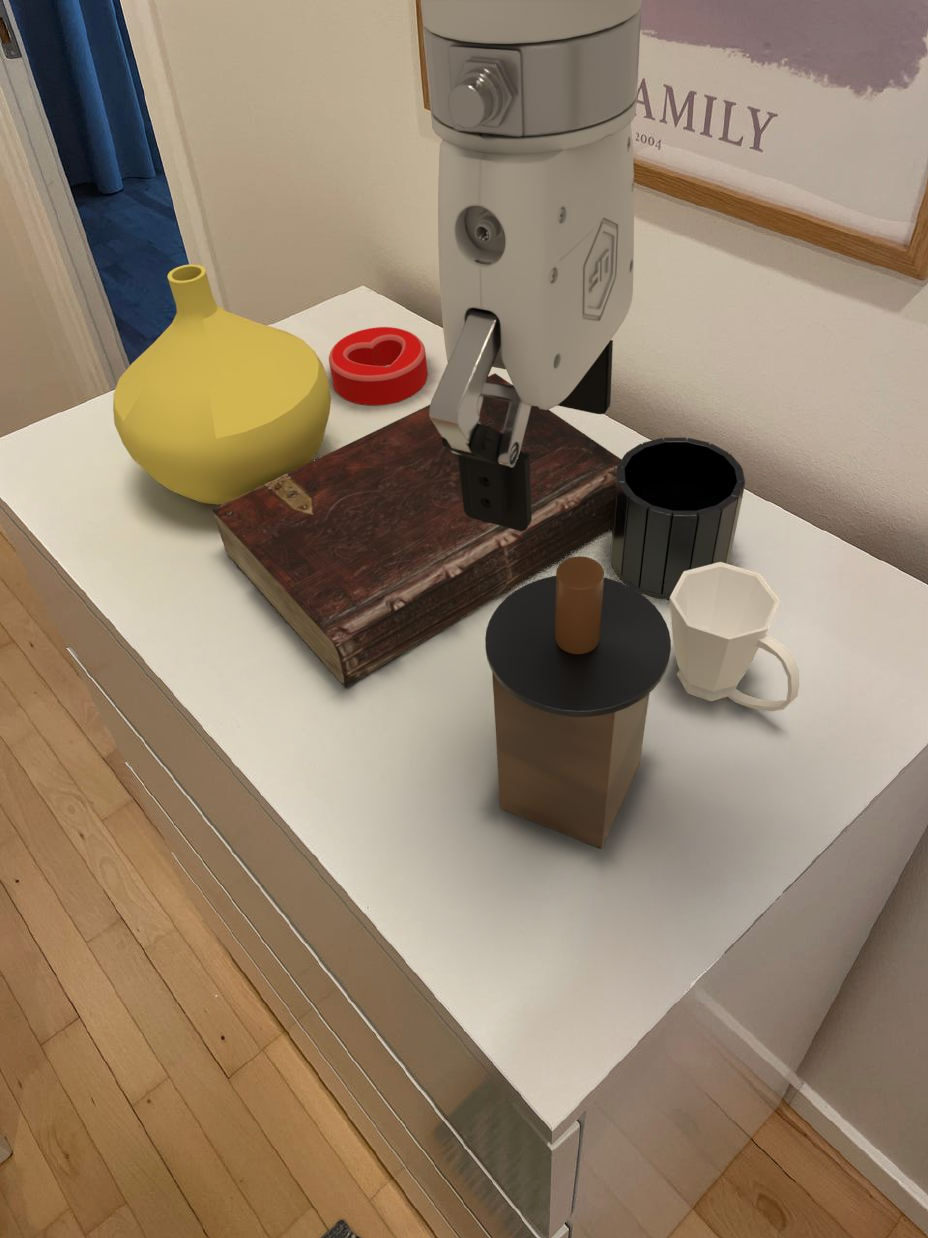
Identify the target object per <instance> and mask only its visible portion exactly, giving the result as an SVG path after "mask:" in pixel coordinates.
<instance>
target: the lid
mask: <svg viewBox="0 0 928 1238" xmlns="http://www.w3.org/2000/svg"><path fill="white" fill-rule="evenodd" d="M484 640H485V642H484V645H485V647H484V649H485V655H486V660H487V663H488V665H489V666H488V667H489V668H490V670H491V673H492V672H493V674H494V676H495V677H496V679H497V680H498V681H499V683H500V684H501V685H502V686H503V687H504V688H505V689H506V690H507V691H508V692H509V693H510V694H511V695H513V696H514V697H515V698H517V699H518V700H520V701H522V702H523V703H525V704H527V705H529V706H531V707H533V708H536V709H538V710H540V711H544V712H547V713H551V714H555V715H560V716H567V717H594V716H601V715H606V714H610V713H614V712H617V711H620V710H623V709H625V708H628V707H629V706H631V705H633V704H635V703H637V702H639V701H640V700H641V699H643V698H644V697H646V696H647V695H648V694H649V695H650V693H652V692H653V691H654V690H655V689H656V687H657V686H658V685H659V684H660V682H661V681H662V679H663V677H664V675H665V674H666V672H667V669H668V666H669V663H670V658H671V652H672V651H671V650H672V639H671V635H670V630H669V627H668V625H667V622H666V620H665V619H664V617H663V614H662V613H661V612H660V610H659V609H658V608H657V607H656V605H655V604H653V603H652V602H651V601H650V599H648V598H647V597H646V596H645V595H644V594H643V593H640V592H638V591H636V590H634V589H633V588H631V587H629V586H628V585H627V584H626V583H622V582H620V581H617V580H614V579H612V578H607V577H605V571H604V568H603V566H602V565H601V564H600V563H599V562H598V561H597V560H595V559H594V558H591V557H587V556H580V555H579V556H578V555H577V556H571V557H568V558H566V559H564V560H563V561H561V562H560V563H559V565H558V566H557V568H556V571H555V575H552V576H547V577H543V578H540V579H538V580H533V581H532V582H529V583H527V584H524V585H523V586H521V587H519V588H518V589H516V590H515V591H513V592H512V593H510V594H509V595H508V596H506V598H504V600H502V601H501V602H500V604H499V605H498V606H497V608H496V609H495V610H494V611H493V613H492V615H491V617H490V619H489V621H488V624H487V627H486V631H485V637H484Z"/></svg>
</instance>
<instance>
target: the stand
mask: <svg viewBox="0 0 928 1238" xmlns="http://www.w3.org/2000/svg"><path fill="white" fill-rule="evenodd" d="M491 677H492V678H491V679H492V695H493V711H494V727H495V746H496V748H495V749H496V762H497V775H498V776H497V780H498V781H497V782H498V796H499V809H502V810H504V811H506V812H508V813H511V814H514V815H517V816H519V817H521V818H524V819H526V820H528V821H531V822H534V823H536V824H538V825H541V826H543V827H546V828H548V829H551V830H552V831H553V830H554V831H556V832H559V833H561V834H564V835H567V836H569V837H571V838H573V839H576V840H579V841H581V842H584V843H586V844H589V845H591V846H594V847H596V848H599V849H603V847H604V845H605V843H606V841H607V838H608V836H609V834H610V831H611V829H612V827H613V826H614V825H613V824H614V823H615V820H616V818H617V815H618V813H619V812H620V809H621V807H622V805H623V802H624V800H625V798H626V795H627V793H628V792H629V788H630V786H631V784H632V782H633V780H634V777H635V775H636V773H637V771H638V768H639V766H640V763H641V757H642V751H643V750H642V749H643V742H644V736H645V729H646V720H647V713H648V706H649V699H650V693H649V694H648V695H647V696H646V697H644V698H643V699H641V700H640V701H639V702H637V703H635V704H633V705H631V706H629V707H628V708H625V709H623V710H620V711H617V712H614V713H610V714H606V715H601V716H594V717H567V716H560V715H555V714H551V713H547V712H544V711H540V710H538V709H536V708H533V707H531V706H529V705H527V704H525V703H523V702H522V701H520V700H518V699H517V698H515V697H514V696H513V695H511V694H510V693H509V692H508V691H507V690H506V689H505V688H504V687H503V686H502V685H501V684H500V683H499V681H498V680H497V679H496V677H495V676H494V674H493V672H492V671H491Z"/></svg>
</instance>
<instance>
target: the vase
mask: <svg viewBox="0 0 928 1238" xmlns="http://www.w3.org/2000/svg"><path fill="white" fill-rule="evenodd" d="M167 280H168V283H169V286H170V289H171V293H172V297H173V300H174V302H175V307H176V314H175V316H174V318H173V320H172V323H171V324H170V325H169V326H168V327H167V328H166V329H165V330H164V331H163V332H162V333H161V335H160V336H158V338H157V339H156V340H155V341H154V342H153V343H152V344H151V345H150V346H149V347H148V348H147V349H146V350H144V351H143V352H142V353H141V355H139V356H138V357H137V358H136V359H135V360H133V362H132V363H131V364H130V365H129V366H128V367H127V369H126V370H125V371H124V372H123V374H122V375H120V377H119V378H118V381H117V384H116V386H115V388H114V392H113V405H112V412H113V422H114V426H115V428H116V431H117V433H118V436H119V438H120V440H121V443H122V445H123V447H124V448H125V450H126V451H127V452H128V454H129V456H130V457H131V460H133V461H134V462H135V463H136V464H138V466H140V467H141V468H142V469H143V470H144V471H145V472H146V473H147V474H148V475H149V476H150V477H151V478H153V479H154V480H155V481H156V482H157V483H159V484H160V485H162V486H163V487H164V488H166V489H168V490H169V491H172V492H173V493H176V494H178V495H180V496H182V497H185V498H187V499H190V500H193V501H195V502H199V503H202V504H209V505H219V506H221V505H223V504H225V503H227V502H229V501H231V500H233V499H235V498H237V497H239V496H242V495H244V494H246V493H248V492H250V491H252V490H254V489H256V488H258V487H260V486H262V485H264V484H266V483H269V482H271V481H273V480H275V479H277V478H279V477H281V476H283V475H285V474H287V473H289V472H291V471H293V470H295V469H298V468H300V467H302V466H304V465H306V464H308V463H310V462H312V461H313V459H314V457H315V456H316V454H317V452H318V450H319V449H320V447H321V445H322V442H323V440H324V436H325V432H326V429H327V424H328V420H329V417H330V412H331V402H332V394H331V389H330V384H329V377H328V374H327V372H326V369H325V366H324V364H323V362H322V361H321V359H320V357H319V355H318V354H317V353H316V350H314V348H312V347H311V346H310V345H309V344H308V343H307V342H306V341H305V340H304V339H303V338H300V337H299V336H296V335H295V334H293V333H290V332H288V331H286V330H284V329H283V330H282V329H280V328H277V327H273V326H270V325H267V324H264V323H260V322H256V321H254V320H251V319H249V318H247V317H246V318H245V317H243V316H240V315H238V314H235V313H232V312H229V311H227V310H226V309H224V308H223V307H221V306H220V305H219V304H217V302H216V300H215V298H214V296H213V292H212V288H211V285H210V281H209V278H208V273H207V269H206V268H205V267H204V266H202V265H200V264H195V263H194V264H193V263H192V264H184V265H180V266H177V267H175V268H173V269H172V270H170V271H169V272H168V274H167Z"/></svg>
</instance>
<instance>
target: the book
mask: <svg viewBox="0 0 928 1238" xmlns="http://www.w3.org/2000/svg"><path fill="white" fill-rule="evenodd" d="M487 381H491V382H496V383H501V384H506V385H511V386H513V383H510V382H509V381H507V380H506V379H505V378H503V377H502V376H500V375H499V374H498V373H496V372H495V373H493V374H489V375H488V378H487ZM509 404H510V402H505V401H500V400H496V399H491V398H487V397H484V399H483V403H482V407H481V411H480V419H479V421H480V423H481V424H482V425H487V426H489V427H491V428H493V429H495V430H496V431H498V432H500V433H501V434H502V433H503V428H504V424H505V420H506V416H507V412H508V408H509ZM429 409H430V404H428V405H426V406H424V407H421V408H420V409H418V410H415V411H414V412H411V413H410V414H408V415H405V416H404V417H401V418H399V419H397V420H395V421H393V422H391V423H389V424H387V425H385V426H383V427H380V428H379V429H376V430H375V431H372V432H370V433H368V434H365V435H364V436H362V437H360V438H358V439H355V440H353V441H352V442H350V443H348V444H345V445H343V446H341V447H339V448H337V449H335V450H333V451H331V452H329V453H327V454H325V455H323V456H320V457H318V458H317V459H314V460H311V462H310V463H308V464H306V465H304V466H302V467H300V468H298V469H295V470H293V471H291V472H289V473H287V474H285V475H283V476H281V477H279V478H277V479H275V480H273V481H271V482H269V483H266V484H264V485H262V486H260V487H258V488H256V489H254V490H252V491H250V492H248V493H246V494H244V495H242V496H239V497H237V498H235V499H233V500H231V501H229V502H227V503H225V504H223V505H219V506H216V507H214V508H212V510H211V511H212V514H213V517H214V520H215V524H216V526H217V530H218V532H219V535H220V538H221V541H222V544H223V547H224V551H225V553H226V554H227V555H228V556H229V557H230V558H231V560H232V561H233V562H234V563H235V564H236V565H237V566H238V567H239V569H241V571H242V572H243V573H244V574H245V575H246V577H247V578H248V579H249V580H250V581H251V582H252V583H253V585H254V586H256V588H257V589H258V590H259V591H260V592H261V594H262V595H263V596H264V597H265V598H266V599H267V601H269V603H270V604H272V606H273V607H274V609H275V610H276V611H277V612H278V613H279V614H280V615H281V616H282V617H283V619H284V620H285V621H286V622H287V624H289V626H290V627H292V629H293V630H294V631H295V633H297V634H298V636H299V637H300V638H301V639H302V641H304V643H306V645H307V646H308V647H309V648H310V649H311V650H312V652H313V653H314V654H315V655H316V656H317V657H318V658H319V660H320V661H321V662H322V663H323V664H324V666H326V668H327V669H329V671H330V673H332V674H333V675H334V677H336V679H337V680H338V681H339V682H340V684H342V685H343V687H344V688H347V687H348V686H350V685H352V684H353V683H355V682H357V681H358V680H360V679H362V678H364V677H365V676H368V675H369V674H370V673H372V672H374V671H376V670H377V669H379V668H380V667H382V666H383V665H386V664H387V663H389V662H391V661H392V660H394V659H396V658H397V657H399V656H400V655H402V654H404V653H405V652H407V651H408V650H409V651H410V649H412V648H413V647H415V646H417V645H419V644H420V643H422V642H424V641H426V640H427V639H429V638H431V637H432V636H433V635H435V634H437V633H438V632H440V631H442V630H444V629H445V628H447V627H449V626H451V625H452V624H454V623H456V622H457V621H459V620H460V619H463V618H464V617H466V616H467V615H469V614H470V613H472V612H474V611H475V610H477V609H479V608H481V607H482V606H483V605H485V604H487V603H489V602H490V601H492V600H493V599H495V598H498V596H501V595H502V594H504V593H505V592H508V591H509V590H511V589H512V588H514V587H516V586H517V585H520V584H521V583H522V582H524V581H526V580H527V579H529V578H531V577H532V576H534V575H536V574H537V573H539V572H540V571H543V570H544V569H545V568H547V567H549V566H551V565H552V564H555V562H557V561H559V560H560V559H562V558H564V557H566V556H567V555H569V554H571V553H572V552H574V551H576V550H577V549H580V547H582V546H585V545H586V544H587V543H589V542H591V541H592V540H594V539H595V538H597V537H599V536H601V535H603V534H604V533H605V532H607V531H609V530H612V524H613V510H614V497H615V484H616V470H617V466H618V465H619V463H620V461H621V460H622V458H621V457H619V456H617V455H616V454H615V453H613V452H612V451H610V450H608V449H607V448H605V446H603V445H601V444H600V443H598V442H597V441H596V440H594V439H593V438H591V437H589V436H588V435H586V434H585V433H583V432H582V431H581V430H579V429H578V428H576V427H575V426H574V425H572V424H570V423H569V422H568V421H566V420H565V419H563V418H561V417H560V416H558V415H557V414H556V413H555V412H553V411H551V409H549V410H543V409H540V408H539V407H538V406H531V410H530V414H529V419H528V423H527V427H526V431H525V435H524V439H523V443H522V447H521V452H524V453H526V454H530V484H531V513H532V521H531V523H530V524H529V526H528V527H527V529H526V530H525V531H518V530H514V529H510V528H507V527H503V526H499V525H496V524H492V523H488V522H485V521H481V520H477V519H474V518H471V517H469V516H467V515H466V514H465V512H464V508H463V498H462V488H461V478H460V469H459V459H458V455H457V454H453V453H452V452H451V450H450V449H448V448H446V447H444V446H443V444H442V436H441V435H440V433H439V432H438V430H437V428H436V427H435V425H434V424H433V422H432V420H431V418H430V416H429Z"/></svg>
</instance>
